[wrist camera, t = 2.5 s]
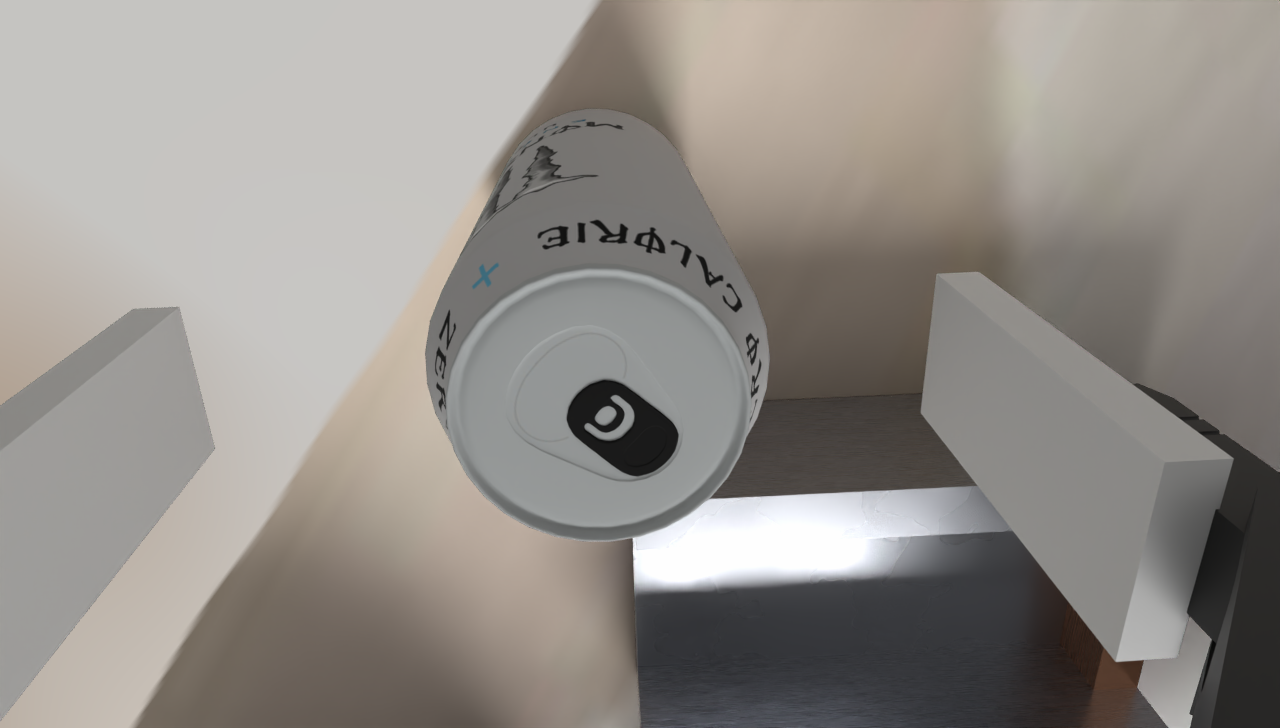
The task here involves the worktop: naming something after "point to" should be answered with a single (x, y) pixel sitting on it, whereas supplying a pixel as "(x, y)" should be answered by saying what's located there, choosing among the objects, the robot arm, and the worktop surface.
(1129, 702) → the channel
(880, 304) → the worktop surface
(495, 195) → the energy drink can
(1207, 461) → the robot arm
